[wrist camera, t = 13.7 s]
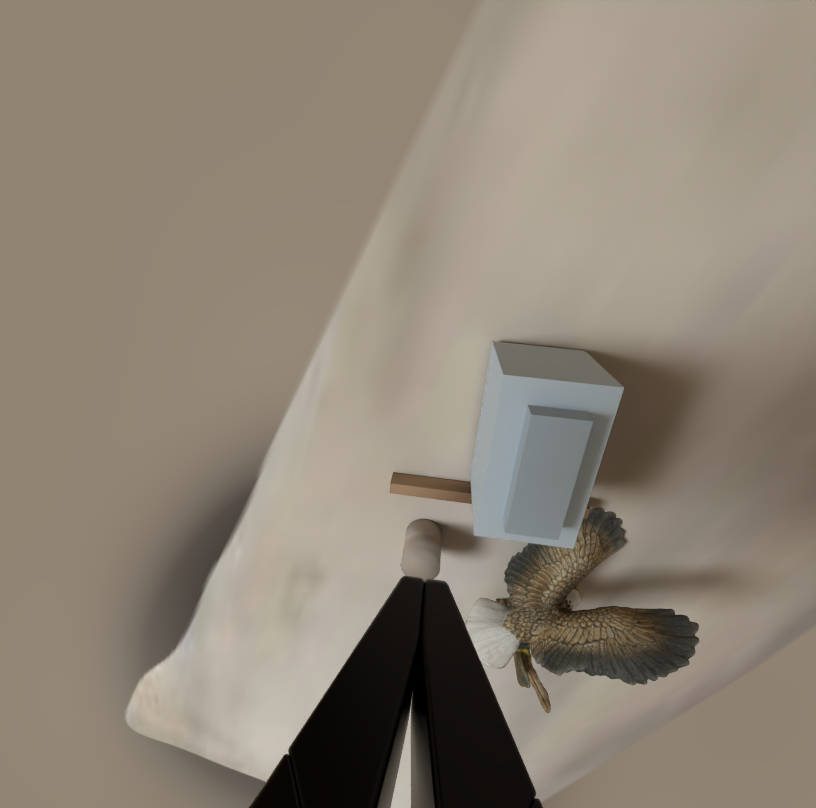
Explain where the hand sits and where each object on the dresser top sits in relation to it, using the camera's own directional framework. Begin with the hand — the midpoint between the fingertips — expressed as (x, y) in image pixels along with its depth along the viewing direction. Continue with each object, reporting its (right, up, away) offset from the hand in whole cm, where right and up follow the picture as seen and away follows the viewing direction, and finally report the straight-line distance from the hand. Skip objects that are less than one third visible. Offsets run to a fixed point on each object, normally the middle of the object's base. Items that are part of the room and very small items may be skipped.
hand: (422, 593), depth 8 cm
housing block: (+5, +3, +12) cm, 13 cm away
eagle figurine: (+8, -6, +16) cm, 18 cm away
